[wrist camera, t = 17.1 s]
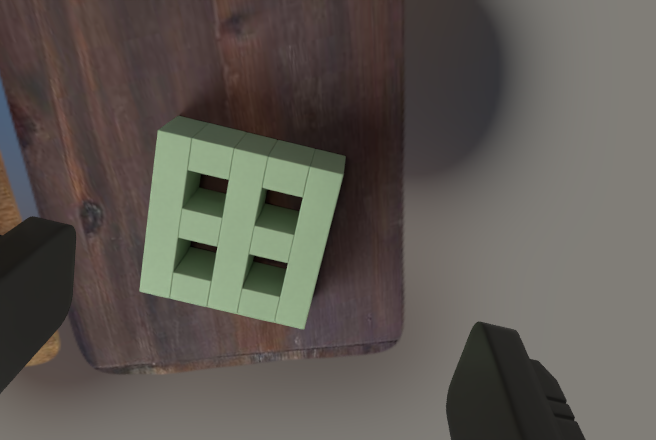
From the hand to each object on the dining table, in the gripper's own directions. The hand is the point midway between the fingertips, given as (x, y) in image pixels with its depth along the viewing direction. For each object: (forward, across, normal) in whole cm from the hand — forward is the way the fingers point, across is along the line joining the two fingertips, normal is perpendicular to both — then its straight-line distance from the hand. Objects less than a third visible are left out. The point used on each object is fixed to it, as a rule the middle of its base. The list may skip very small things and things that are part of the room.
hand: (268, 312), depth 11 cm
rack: (+36, +5, +14) cm, 39 cm away
